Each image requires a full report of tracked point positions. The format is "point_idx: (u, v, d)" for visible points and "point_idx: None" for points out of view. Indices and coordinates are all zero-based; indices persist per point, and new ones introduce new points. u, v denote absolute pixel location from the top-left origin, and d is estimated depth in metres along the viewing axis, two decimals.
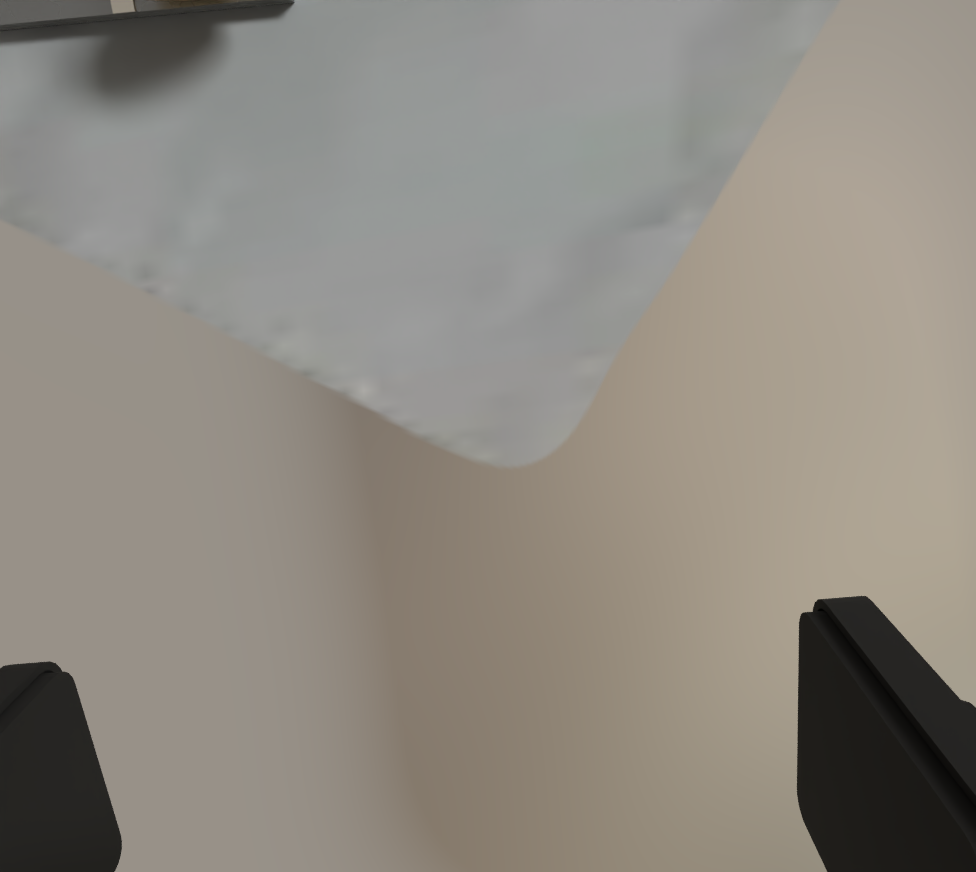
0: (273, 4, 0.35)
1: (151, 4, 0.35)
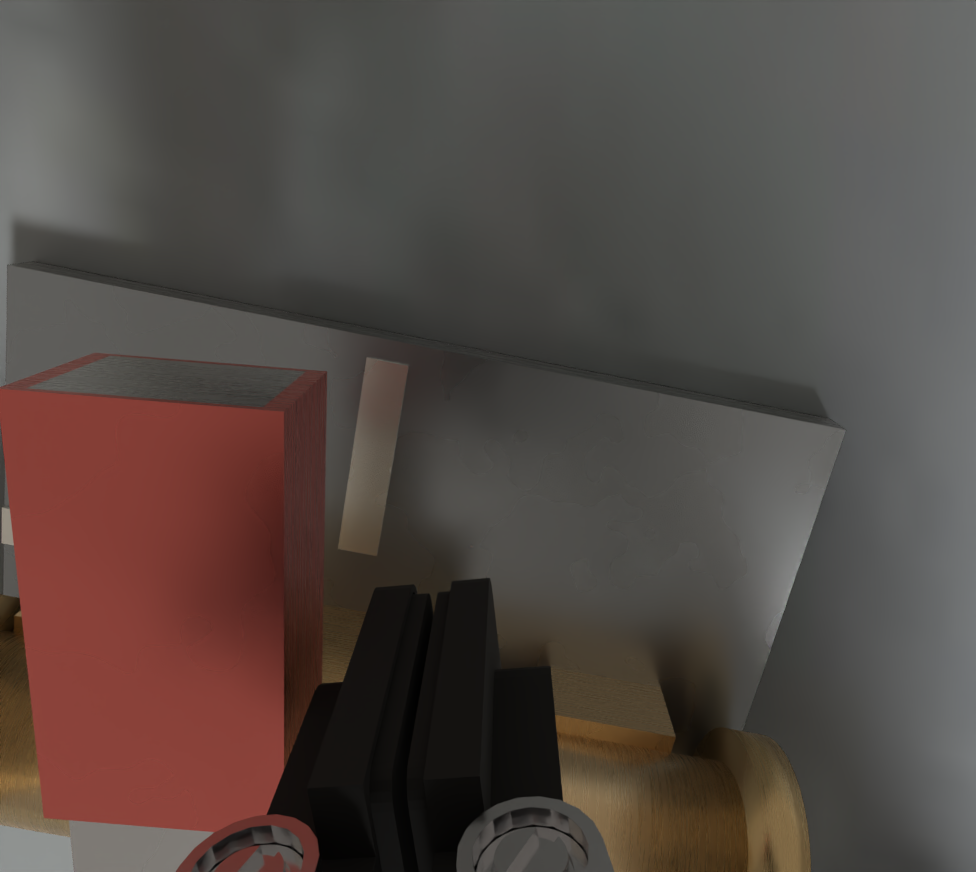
0: None
1: (12, 569, 0.20)
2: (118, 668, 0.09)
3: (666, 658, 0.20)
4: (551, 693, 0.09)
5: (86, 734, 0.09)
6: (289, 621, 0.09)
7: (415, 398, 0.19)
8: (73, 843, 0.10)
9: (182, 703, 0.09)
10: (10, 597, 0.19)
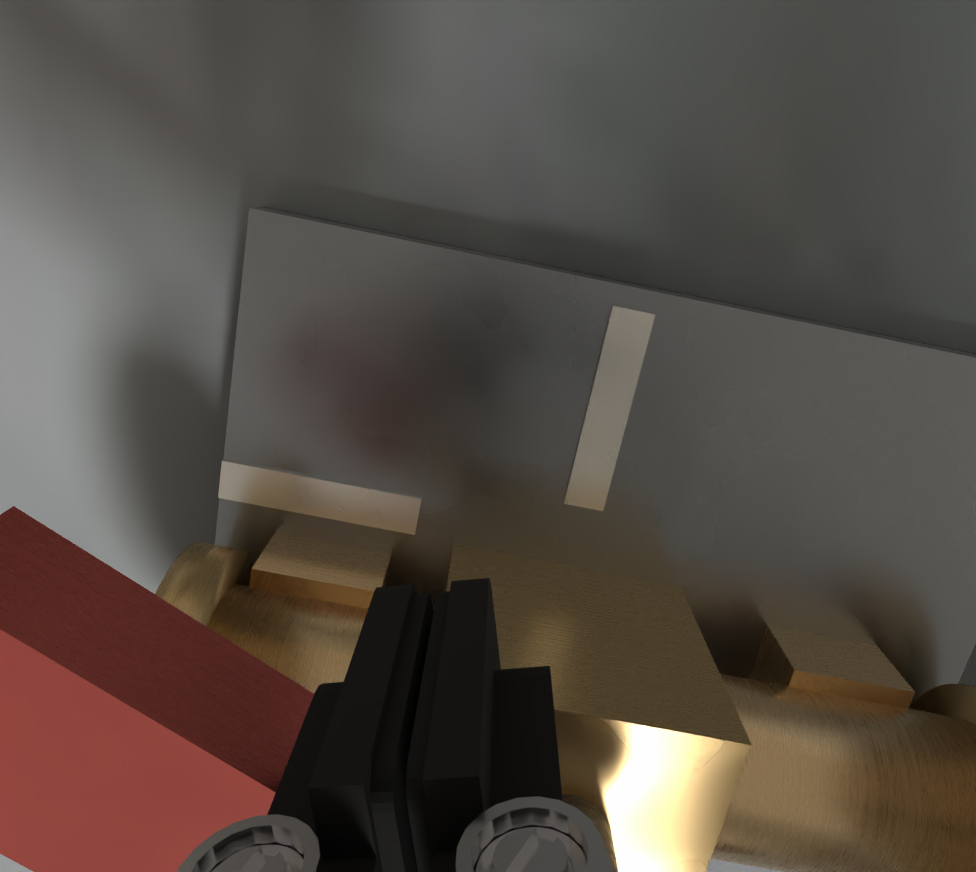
0: None
1: (225, 525, 0.20)
2: (82, 824, 0.10)
3: (885, 616, 0.20)
4: (550, 693, 0.09)
5: None
6: (121, 682, 0.10)
7: (658, 348, 0.18)
8: None
9: (146, 803, 0.10)
10: (243, 550, 0.18)
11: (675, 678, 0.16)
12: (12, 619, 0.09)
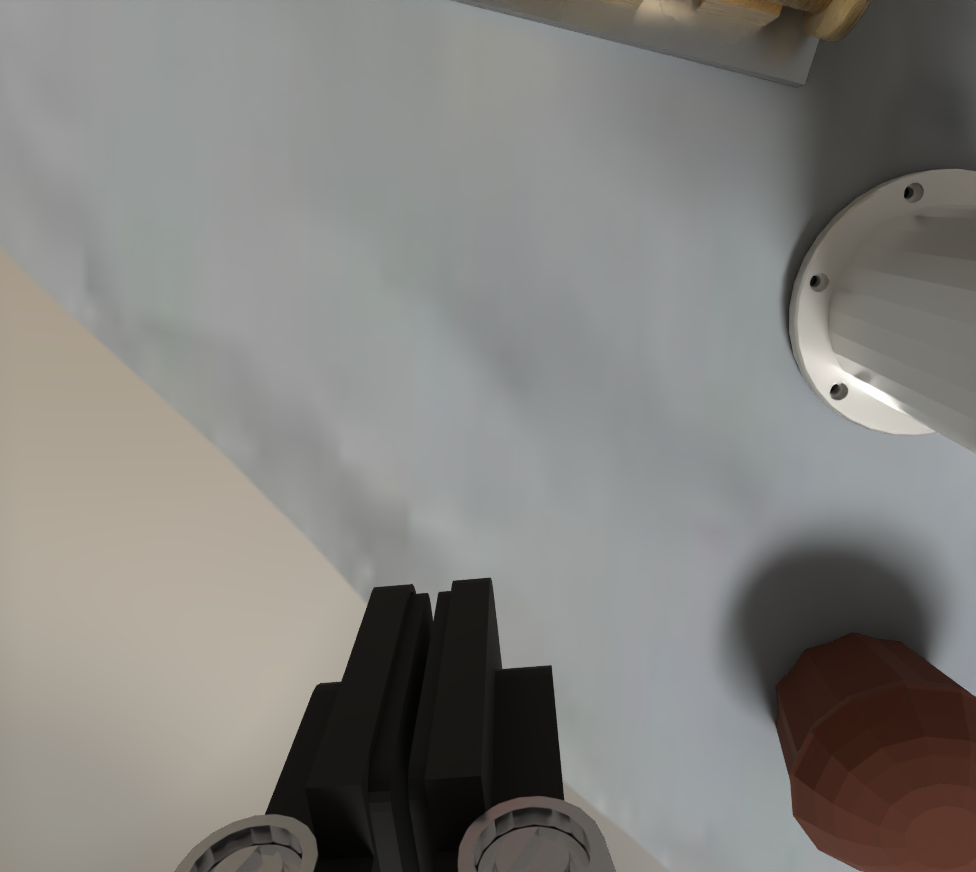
0: None
1: None
2: None
3: None
4: (552, 693, 0.09)
5: None
6: None
7: None
8: None
9: None
10: None
11: None
12: None
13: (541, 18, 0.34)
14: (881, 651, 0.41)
